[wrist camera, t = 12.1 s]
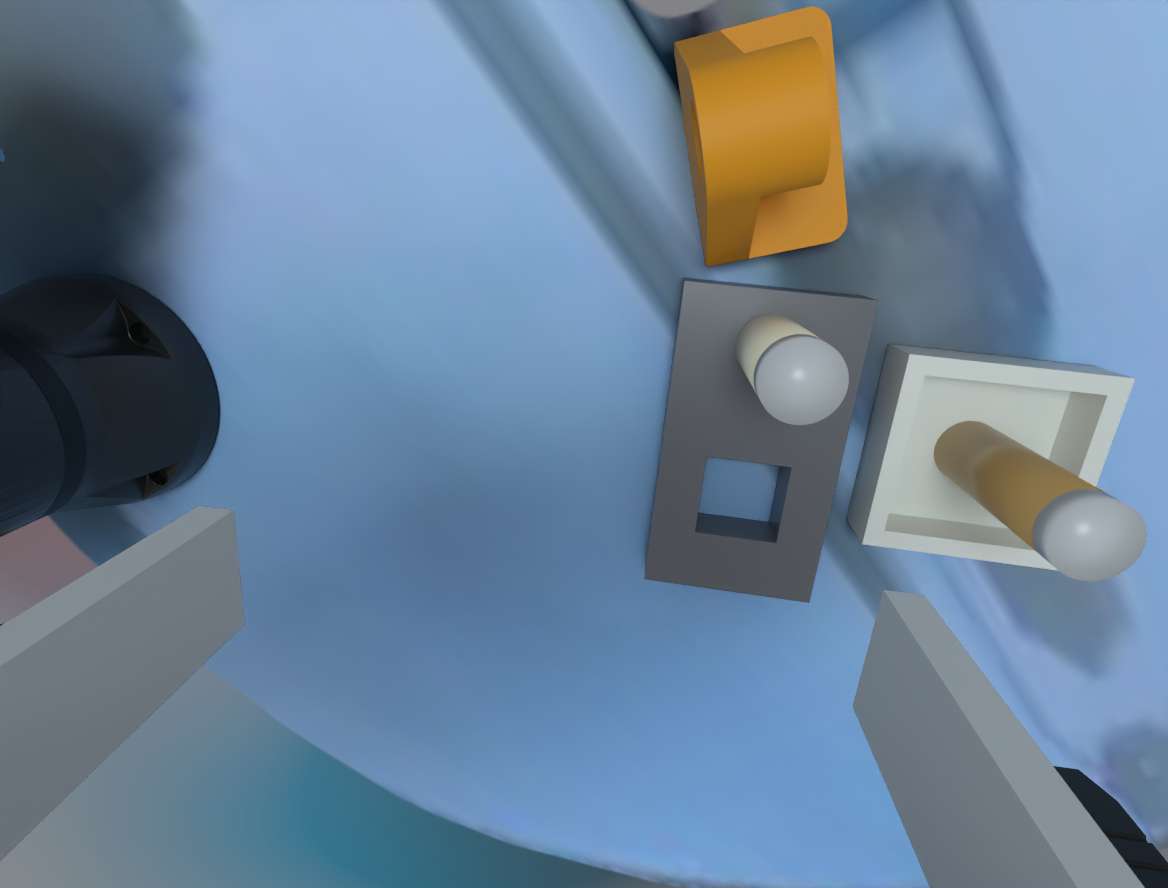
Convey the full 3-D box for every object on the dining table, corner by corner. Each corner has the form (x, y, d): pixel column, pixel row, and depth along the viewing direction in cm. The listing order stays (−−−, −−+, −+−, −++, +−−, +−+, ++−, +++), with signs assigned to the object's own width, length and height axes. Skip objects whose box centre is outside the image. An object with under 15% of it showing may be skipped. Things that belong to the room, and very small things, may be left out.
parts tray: (846, 519, 40) (862, 544, 37) (888, 343, 37) (909, 354, 34) (1031, 543, 39) (1065, 571, 36) (1092, 365, 36) (1135, 378, 33)
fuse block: (799, 577, 42) (848, 704, 31) (645, 556, 43) (637, 671, 31) (861, 295, 36) (949, 321, 25) (683, 277, 37) (689, 295, 26)
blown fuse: (926, 475, 38) (1036, 574, 27) (943, 417, 37) (1063, 494, 26) (990, 483, 38) (1128, 587, 27) (1008, 424, 37) (1160, 506, 25)
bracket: (836, 238, 36) (914, 238, 24) (704, 265, 37) (720, 277, 26) (816, 19, 33) (895, -96, 21) (674, 56, 34) (677, -34, 23)
